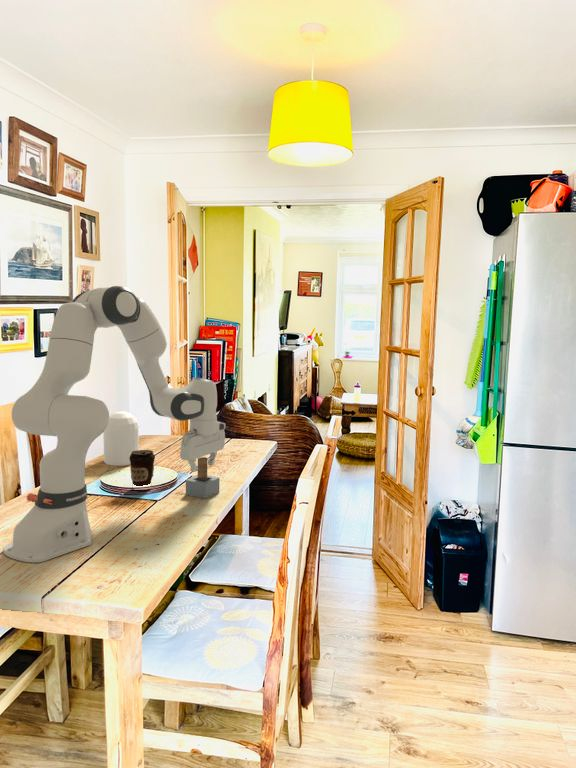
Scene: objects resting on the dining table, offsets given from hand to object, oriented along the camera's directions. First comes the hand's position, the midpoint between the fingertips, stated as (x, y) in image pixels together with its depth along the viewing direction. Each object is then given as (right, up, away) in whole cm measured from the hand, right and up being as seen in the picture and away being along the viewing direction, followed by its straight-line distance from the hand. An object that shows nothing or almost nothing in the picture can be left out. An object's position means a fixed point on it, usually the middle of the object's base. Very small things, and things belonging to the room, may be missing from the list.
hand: (202, 467), depth 193 cm
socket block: (0, -9, +2) cm, 9 cm away
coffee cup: (-21, -8, +5) cm, 23 cm away
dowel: (0, -9, +2) cm, 9 cm away
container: (-38, -3, +38) cm, 53 cm away
